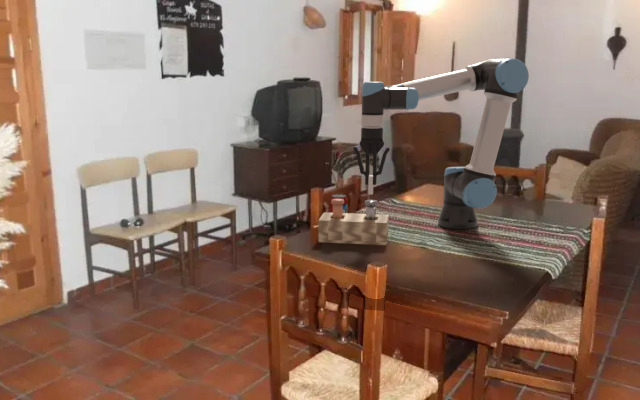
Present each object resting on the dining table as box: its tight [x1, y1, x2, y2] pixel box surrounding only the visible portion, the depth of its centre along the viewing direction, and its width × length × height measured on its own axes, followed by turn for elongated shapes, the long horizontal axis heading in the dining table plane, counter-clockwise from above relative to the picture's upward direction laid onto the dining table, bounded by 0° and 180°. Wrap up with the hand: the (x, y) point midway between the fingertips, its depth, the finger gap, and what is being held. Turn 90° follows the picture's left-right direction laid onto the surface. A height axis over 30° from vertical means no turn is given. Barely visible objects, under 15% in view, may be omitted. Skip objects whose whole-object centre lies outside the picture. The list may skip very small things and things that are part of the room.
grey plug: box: [364, 199, 379, 220], centre depth 216 cm, size 5×5×8 cm
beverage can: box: [329, 193, 349, 213], centre depth 236 cm, size 7×7×12 cm
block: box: [317, 211, 390, 246], centre depth 218 cm, size 24×12×8 cm, turn 80°
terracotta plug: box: [331, 199, 344, 219], centre depth 218 cm, size 5×5×8 cm
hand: (370, 193), depth 214 cm, fingers closed
